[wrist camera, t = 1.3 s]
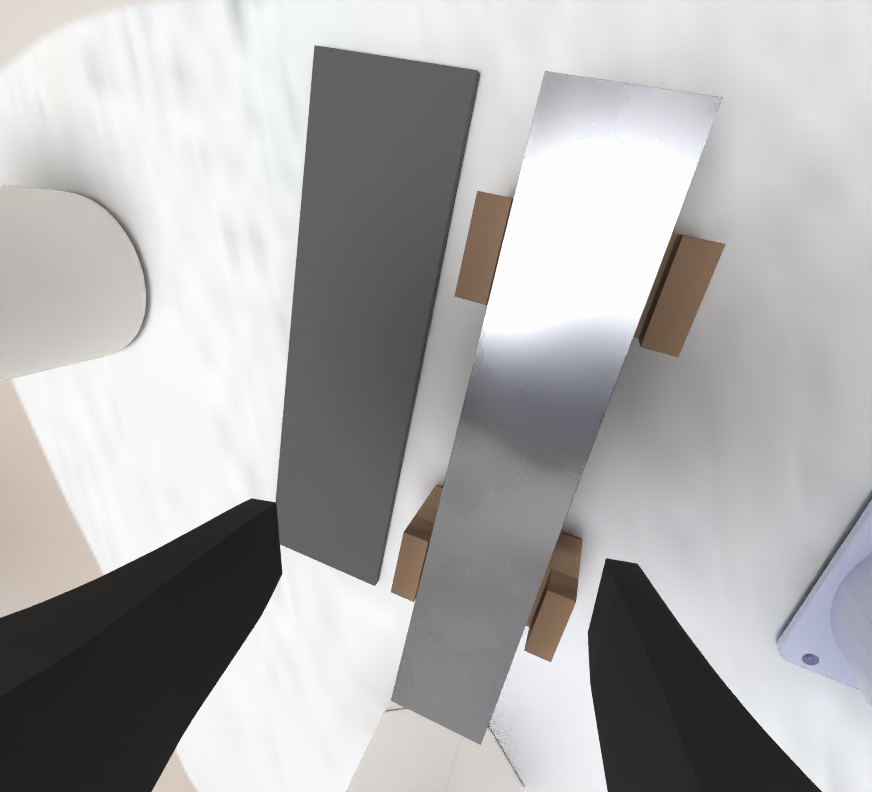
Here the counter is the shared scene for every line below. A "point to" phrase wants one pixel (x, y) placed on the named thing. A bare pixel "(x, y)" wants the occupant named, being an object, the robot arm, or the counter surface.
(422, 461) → the counter surface
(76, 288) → the pill bottle
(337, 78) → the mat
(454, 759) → the milk
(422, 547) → the stand
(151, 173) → the counter surface
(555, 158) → the rail
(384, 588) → the counter surface
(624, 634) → the robot arm
